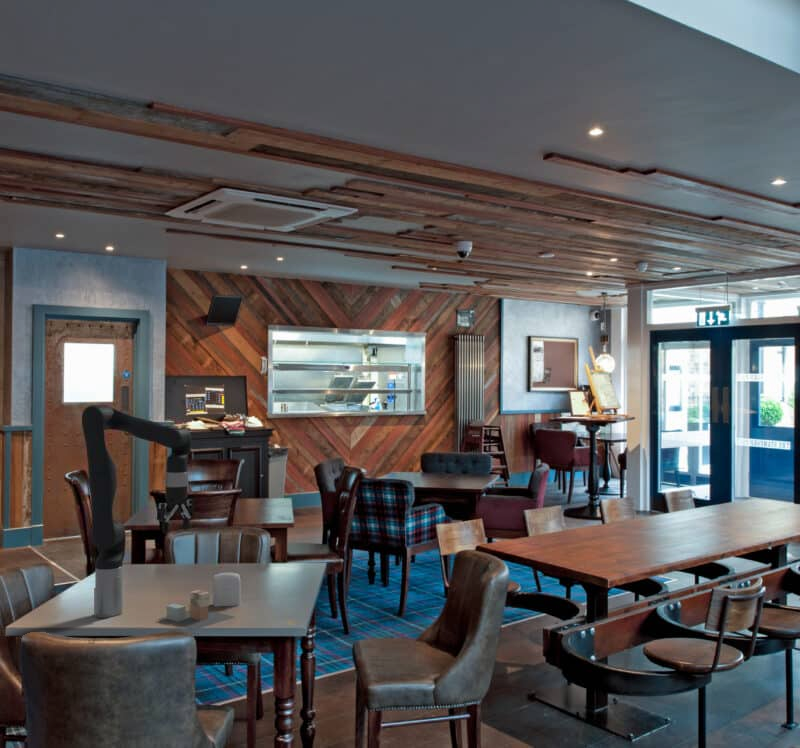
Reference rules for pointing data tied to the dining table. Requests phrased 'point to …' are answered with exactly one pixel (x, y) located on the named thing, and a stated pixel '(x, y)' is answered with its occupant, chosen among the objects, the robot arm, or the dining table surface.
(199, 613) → the terracotta brick
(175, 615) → the grey green brick
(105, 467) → the robot arm
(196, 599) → the maple brick
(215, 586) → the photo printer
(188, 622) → the charcoal mat
